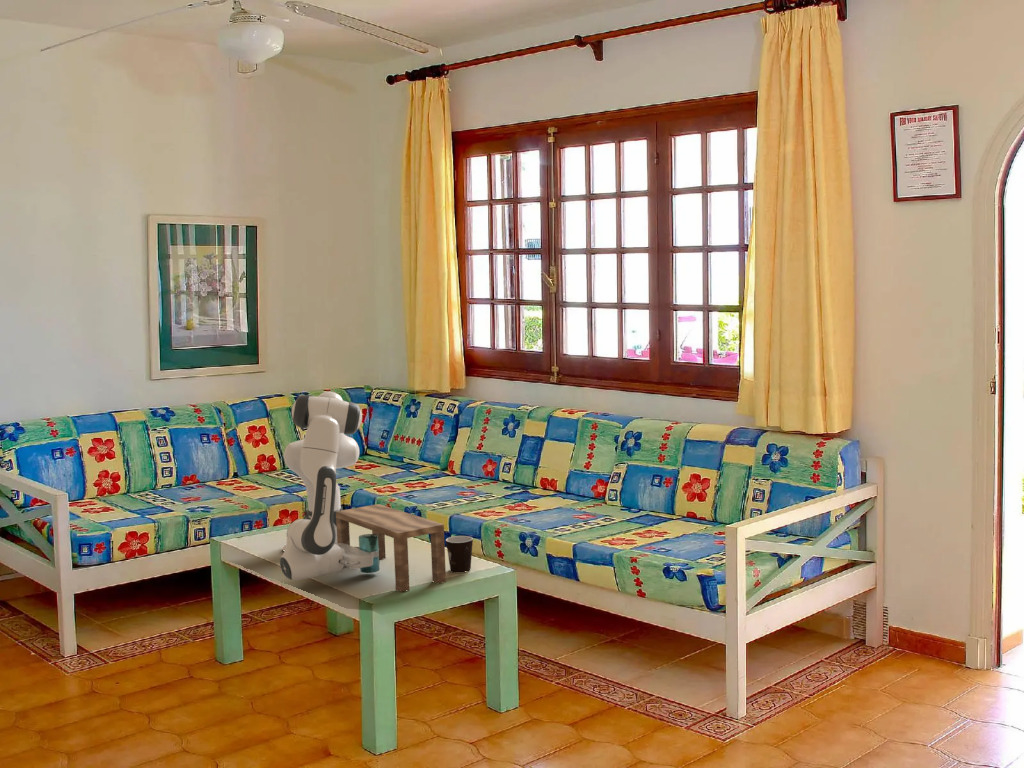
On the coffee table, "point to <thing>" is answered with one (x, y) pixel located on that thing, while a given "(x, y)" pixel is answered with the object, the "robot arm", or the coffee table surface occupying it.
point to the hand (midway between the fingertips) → (371, 551)
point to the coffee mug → (459, 553)
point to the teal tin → (369, 544)
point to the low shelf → (396, 537)
